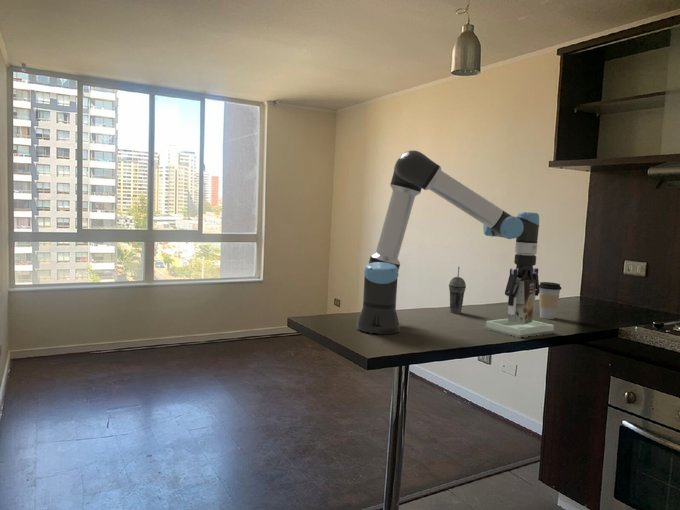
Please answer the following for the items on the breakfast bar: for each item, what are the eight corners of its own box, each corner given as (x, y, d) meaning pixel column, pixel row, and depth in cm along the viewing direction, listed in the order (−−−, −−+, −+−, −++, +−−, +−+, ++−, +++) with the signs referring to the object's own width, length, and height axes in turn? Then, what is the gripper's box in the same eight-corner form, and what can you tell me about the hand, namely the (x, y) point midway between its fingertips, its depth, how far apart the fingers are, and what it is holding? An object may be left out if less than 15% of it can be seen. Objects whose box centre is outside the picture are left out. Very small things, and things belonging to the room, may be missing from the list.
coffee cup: (554, 316, 226) (557, 282, 225) (561, 320, 217) (565, 285, 215) (532, 314, 227) (535, 281, 226) (538, 319, 218) (541, 284, 216)
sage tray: (519, 338, 180) (520, 329, 180) (485, 328, 193) (486, 321, 193) (553, 333, 192) (554, 325, 191) (519, 324, 204) (519, 317, 204)
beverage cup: (446, 313, 220) (449, 266, 219) (447, 310, 227) (450, 265, 226) (463, 314, 218) (466, 268, 217) (464, 312, 225) (467, 266, 223)
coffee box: (524, 325, 186) (528, 281, 185) (507, 322, 190) (510, 279, 189) (533, 321, 193) (536, 279, 192) (516, 318, 198) (519, 277, 196)
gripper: (514, 255, 180) (509, 317, 182) (553, 254, 193) (548, 313, 195) (497, 253, 187) (492, 313, 188) (535, 253, 199) (531, 309, 201)
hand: (520, 313), depth 192 cm, fingers closed on coffee box, 10 cm apart
